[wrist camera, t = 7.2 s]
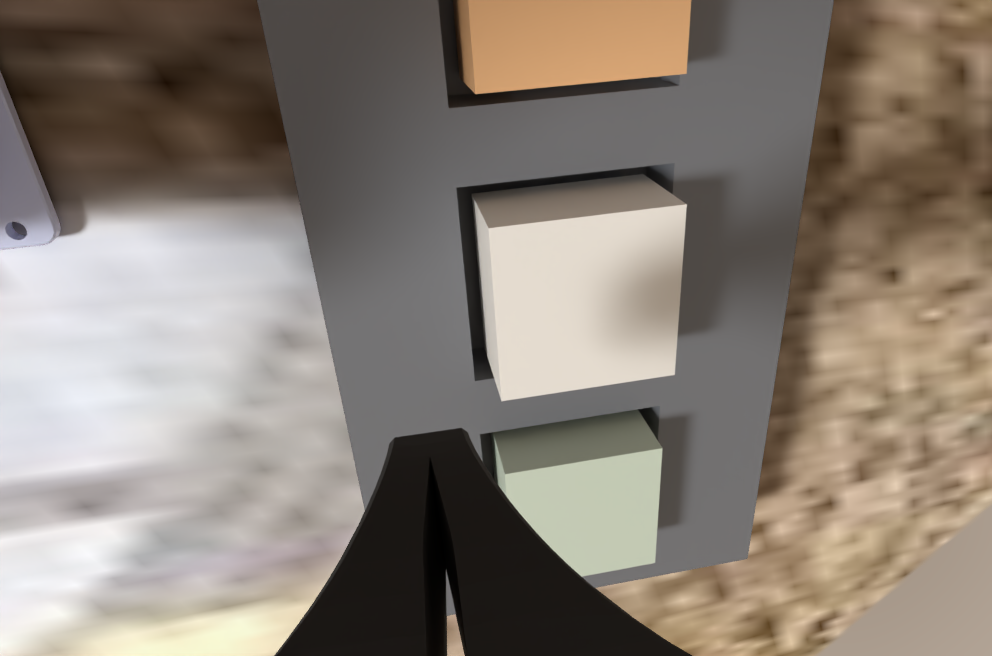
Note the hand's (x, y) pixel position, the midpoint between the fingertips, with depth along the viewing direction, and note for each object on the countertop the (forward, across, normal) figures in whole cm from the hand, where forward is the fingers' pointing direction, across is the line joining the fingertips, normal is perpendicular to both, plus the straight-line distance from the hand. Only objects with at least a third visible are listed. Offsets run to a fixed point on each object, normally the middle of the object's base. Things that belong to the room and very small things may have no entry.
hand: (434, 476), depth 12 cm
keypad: (+10, -4, 0) cm, 11 cm away
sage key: (+10, -4, +8) cm, 13 cm away
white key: (+10, -4, 0) cm, 10 cm away
